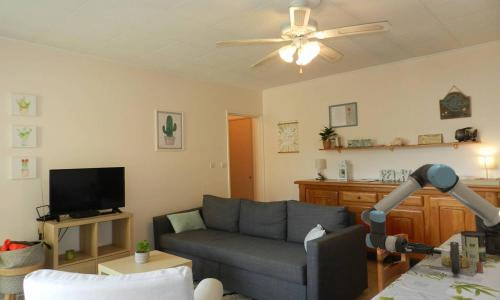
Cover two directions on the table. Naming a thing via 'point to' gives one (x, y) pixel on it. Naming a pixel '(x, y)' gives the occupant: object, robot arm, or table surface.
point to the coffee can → (473, 245)
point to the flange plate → (467, 271)
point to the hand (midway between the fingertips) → (450, 253)
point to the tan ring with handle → (455, 259)
